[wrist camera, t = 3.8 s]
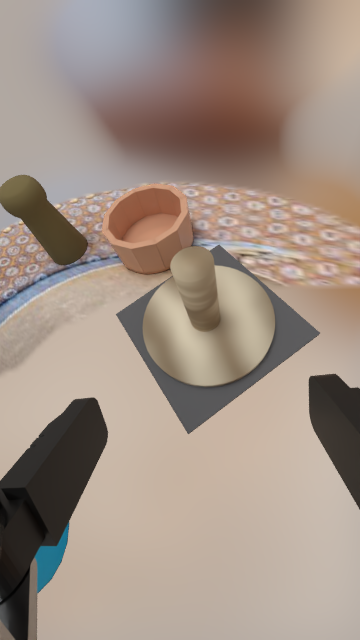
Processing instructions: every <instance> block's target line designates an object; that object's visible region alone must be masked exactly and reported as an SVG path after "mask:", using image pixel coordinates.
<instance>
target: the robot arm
mask: <svg viewBox="0 0 360 640" xmlns="http://www.w3.org/2000/svg"><path fill="white" fill-rule="evenodd" d="M309 413H310V419H311V423H312V426H313V429H314V431H315V433H316V435H317V436H318V438H319V440H320V441H321V443H322V445H323V447H324V448H325V450H326V452H327V454H328V455H329V457H330V459H331V460H332V462H333V464H334V466H335V467H336V469H337V471H338V473H339V474H340V476H341V478H342V479H343V481H344V483H345V485H346V486H347V488H348V490H349V492H350V493H351V495H352V497H353V498H354V500H355V502H356V504H357V505H358V507H359V509H360V389H359V388H350V387H349V386H347V384H346V383H345V382H344V381H343V380H342V379H341V378H340V377H339V376H337V375H336V374H327V375H317V376H311V377H310V378H309ZM107 438H108V431H107V427H106V424H105V421H104V418H103V415H102V412H101V409H100V407H99V404H98V401H97V400H96V399H95V398H84V399H75V400H73V401H72V402H71V404H70V405H69V406H68V407H67V408H66V410H65V411H64V412H63V413H62V414H61V415H60V416H58V417H57V418H56V419H55V420H53V421H52V422H51V423H49V424H48V425H47V427H46V428H45V429H44V430H43V431H42V433H41V434H40V435H39V438H37V439H36V440H35V441H34V442H33V443H32V444H31V445H30V448H29V449H27V450H26V451H25V453H24V454H23V455H22V456H21V457H20V458H19V460H18V461H17V462H16V463H15V464H14V465H13V467H12V468H11V469H10V470H9V471H8V473H7V474H6V475H5V476H4V477H3V478H2V480H1V481H0V640H37V561H36V559H35V555H36V553H37V552H38V550H39V548H40V546H57V545H58V543H59V541H60V539H61V537H62V535H63V533H64V531H65V528H66V526H67V524H68V522H69V520H70V518H71V516H72V514H73V512H74V510H75V508H76V506H77V504H78V502H79V499H80V497H81V495H82V493H83V491H84V489H85V487H86V485H87V483H88V481H89V479H90V477H91V475H92V472H93V470H94V468H95V466H96V464H97V462H98V460H99V458H100V456H101V454H102V452H103V450H104V448H105V445H106V443H107Z"/></svg>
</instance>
